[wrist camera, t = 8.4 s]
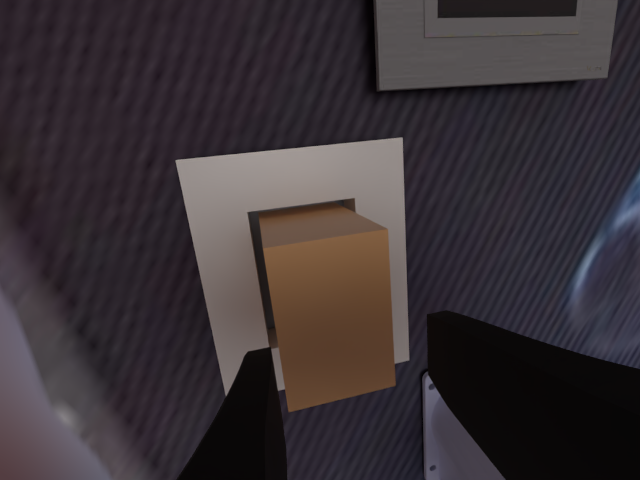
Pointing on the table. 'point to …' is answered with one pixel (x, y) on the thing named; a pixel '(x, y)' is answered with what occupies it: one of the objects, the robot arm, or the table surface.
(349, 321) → the plug
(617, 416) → the robot arm
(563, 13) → the electrical outlet
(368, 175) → the socket block
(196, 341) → the table surface
